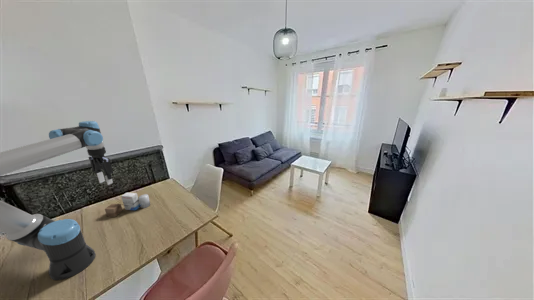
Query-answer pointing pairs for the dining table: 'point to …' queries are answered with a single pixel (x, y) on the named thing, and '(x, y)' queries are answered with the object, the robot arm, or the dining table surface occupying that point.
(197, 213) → the dining table surface
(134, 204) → the ink box
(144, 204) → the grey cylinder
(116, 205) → the walnut block
